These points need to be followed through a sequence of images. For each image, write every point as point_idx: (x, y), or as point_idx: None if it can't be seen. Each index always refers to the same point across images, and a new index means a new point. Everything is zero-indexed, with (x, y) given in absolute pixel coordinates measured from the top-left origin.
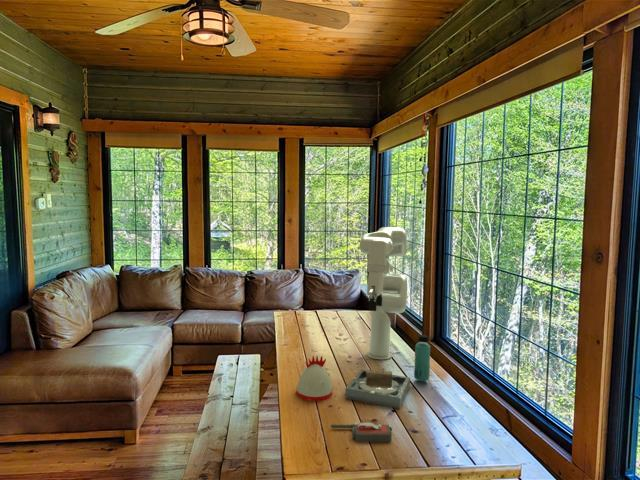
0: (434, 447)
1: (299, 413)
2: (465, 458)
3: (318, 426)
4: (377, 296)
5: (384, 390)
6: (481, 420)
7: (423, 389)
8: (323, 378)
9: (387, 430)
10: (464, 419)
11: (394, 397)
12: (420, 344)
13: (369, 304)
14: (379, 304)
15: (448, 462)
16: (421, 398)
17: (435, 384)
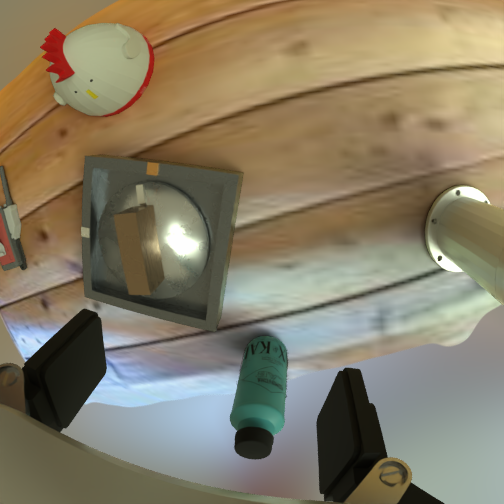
0: (26, 323)
1: (30, 89)
2: (28, 352)
3: (5, 142)
4: (349, 477)
5: (117, 259)
6: (124, 405)
7: (217, 346)
8: (60, 96)
9: (4, 265)
10: (114, 385)
11: (84, 284)
12: (243, 421)
13: (50, 347)
14: (324, 418)
15: (13, 332)
16: (164, 335)
17: None
